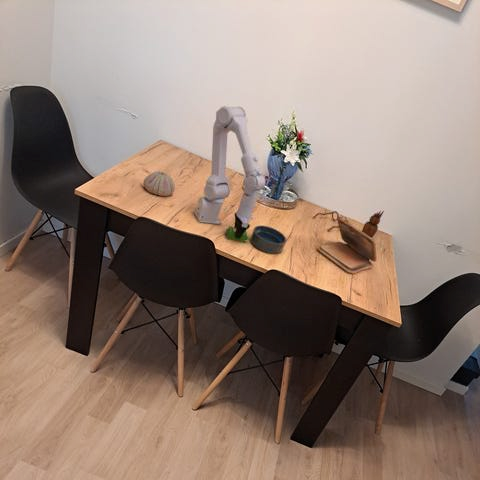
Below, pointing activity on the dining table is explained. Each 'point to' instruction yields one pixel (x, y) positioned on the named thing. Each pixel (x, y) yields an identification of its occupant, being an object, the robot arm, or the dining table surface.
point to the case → (351, 249)
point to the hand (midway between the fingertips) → (236, 234)
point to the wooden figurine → (372, 224)
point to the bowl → (268, 239)
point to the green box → (231, 234)
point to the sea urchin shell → (159, 183)
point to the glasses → (332, 218)
